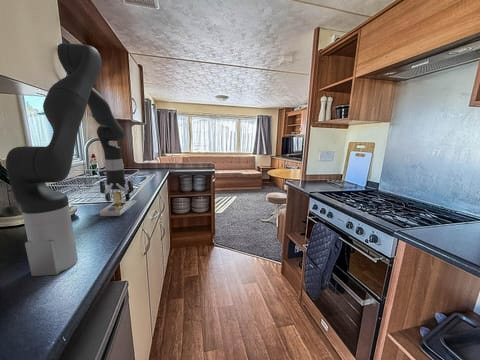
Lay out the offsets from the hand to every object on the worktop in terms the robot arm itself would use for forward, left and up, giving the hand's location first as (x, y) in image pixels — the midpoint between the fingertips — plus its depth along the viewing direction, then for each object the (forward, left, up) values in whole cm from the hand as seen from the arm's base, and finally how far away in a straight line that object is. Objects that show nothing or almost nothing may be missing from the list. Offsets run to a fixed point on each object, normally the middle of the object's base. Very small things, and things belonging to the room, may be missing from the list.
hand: (118, 201), depth 102 cm
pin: (0, 0, -4) cm, 4 cm away
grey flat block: (0, 0, -4) cm, 4 cm away
